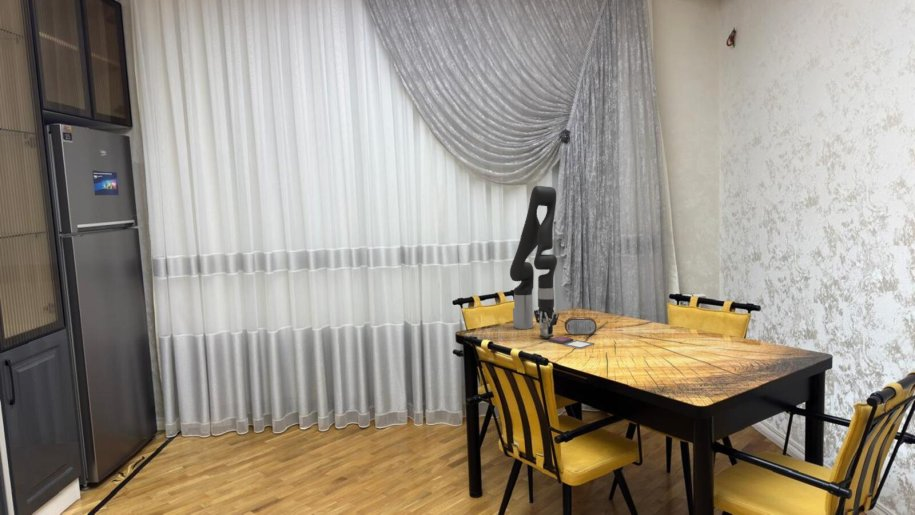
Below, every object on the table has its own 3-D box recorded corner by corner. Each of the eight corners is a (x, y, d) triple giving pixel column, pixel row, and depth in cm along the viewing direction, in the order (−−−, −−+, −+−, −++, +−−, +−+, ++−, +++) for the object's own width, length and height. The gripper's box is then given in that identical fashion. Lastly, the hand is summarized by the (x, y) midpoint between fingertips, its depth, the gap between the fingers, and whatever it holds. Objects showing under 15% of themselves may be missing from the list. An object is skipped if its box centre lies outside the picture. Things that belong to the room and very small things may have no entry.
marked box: (562, 345, 271) (562, 344, 271) (576, 340, 278) (576, 339, 277) (581, 349, 263) (581, 348, 263) (594, 344, 270) (594, 343, 270)
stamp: (539, 336, 284) (539, 317, 283) (545, 334, 287) (545, 315, 286) (546, 338, 281) (546, 319, 280) (553, 336, 284) (553, 317, 283)
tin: (596, 333, 290) (596, 316, 289) (597, 335, 287) (596, 317, 286) (564, 334, 292) (564, 316, 291) (565, 335, 288) (564, 318, 287)
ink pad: (548, 341, 278) (548, 338, 278) (559, 338, 284) (559, 335, 283) (562, 344, 272) (562, 341, 272) (573, 341, 278) (573, 338, 277)
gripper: (529, 296, 285) (529, 332, 287) (552, 300, 274) (552, 337, 276) (539, 294, 289) (540, 329, 292) (563, 297, 279) (563, 334, 281)
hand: (546, 332), depth 284 cm, fingers closed on stamp, 4 cm apart
